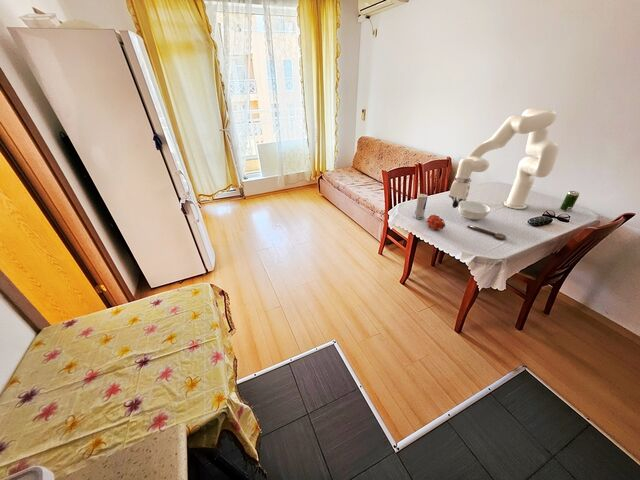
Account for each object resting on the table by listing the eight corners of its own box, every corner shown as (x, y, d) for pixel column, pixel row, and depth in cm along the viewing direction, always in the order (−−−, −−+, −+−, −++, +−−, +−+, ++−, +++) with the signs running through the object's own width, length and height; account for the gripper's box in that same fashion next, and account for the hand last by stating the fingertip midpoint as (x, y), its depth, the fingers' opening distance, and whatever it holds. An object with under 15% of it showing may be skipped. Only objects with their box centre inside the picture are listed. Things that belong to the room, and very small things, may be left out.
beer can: (572, 211, 157) (582, 193, 150) (564, 212, 157) (573, 194, 150) (565, 208, 161) (574, 190, 155) (557, 208, 161) (566, 191, 155)
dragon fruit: (425, 225, 155) (441, 236, 147) (420, 221, 149) (436, 232, 141) (435, 214, 152) (451, 224, 144) (429, 209, 146) (446, 220, 138)
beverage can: (424, 219, 158) (428, 197, 150) (414, 219, 159) (418, 196, 151) (422, 215, 163) (426, 193, 155) (413, 215, 164) (417, 193, 156)
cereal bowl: (452, 218, 158) (455, 207, 154) (460, 208, 168) (463, 199, 164) (483, 225, 148) (486, 215, 144) (489, 215, 158) (493, 205, 154)
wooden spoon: (465, 228, 146) (466, 225, 145) (469, 225, 149) (470, 222, 148) (503, 241, 133) (504, 238, 133) (506, 237, 136) (507, 234, 135)
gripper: (477, 181, 151) (469, 208, 160) (452, 175, 160) (446, 202, 170) (472, 184, 147) (464, 212, 156) (447, 178, 156) (440, 205, 166)
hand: (454, 207), depth 163 cm, fingers closed
